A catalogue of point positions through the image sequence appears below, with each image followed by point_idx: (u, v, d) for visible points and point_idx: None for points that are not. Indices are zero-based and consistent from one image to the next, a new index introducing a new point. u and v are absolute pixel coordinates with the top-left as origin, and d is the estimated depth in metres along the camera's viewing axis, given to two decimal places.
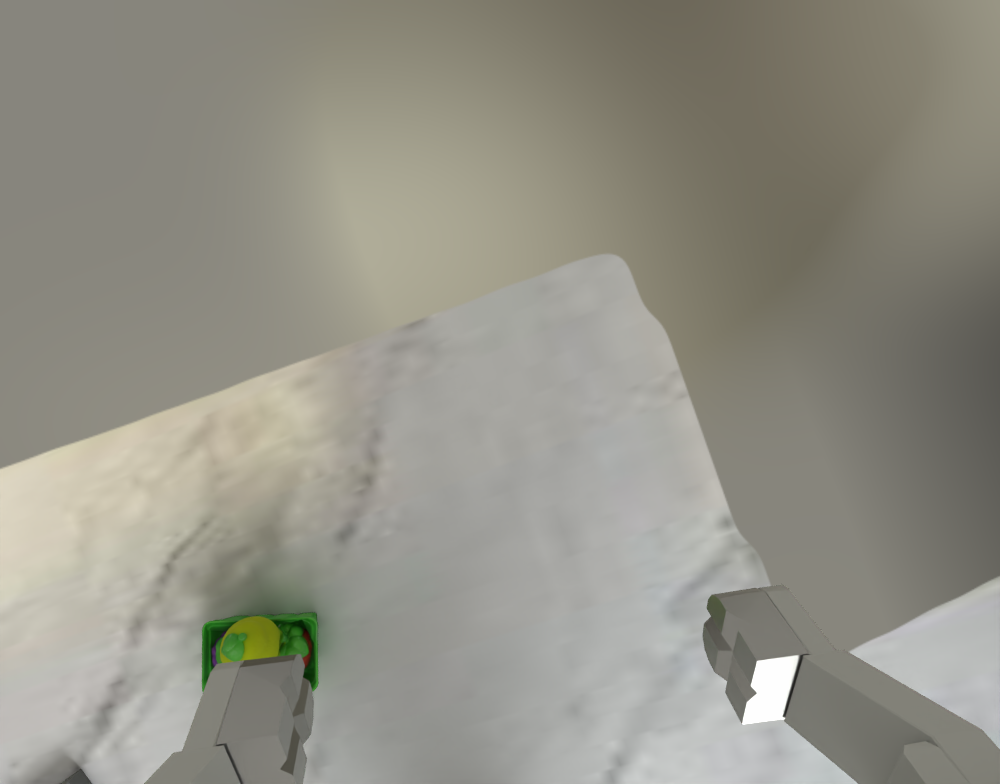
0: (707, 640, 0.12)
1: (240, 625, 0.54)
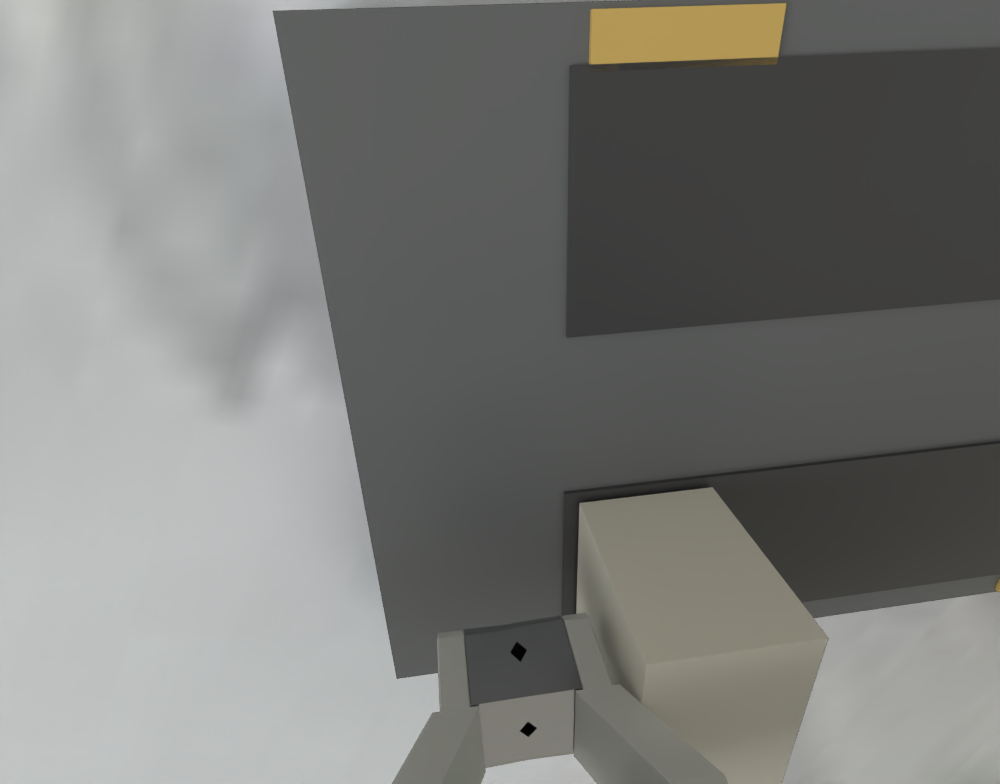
0: None
1: None
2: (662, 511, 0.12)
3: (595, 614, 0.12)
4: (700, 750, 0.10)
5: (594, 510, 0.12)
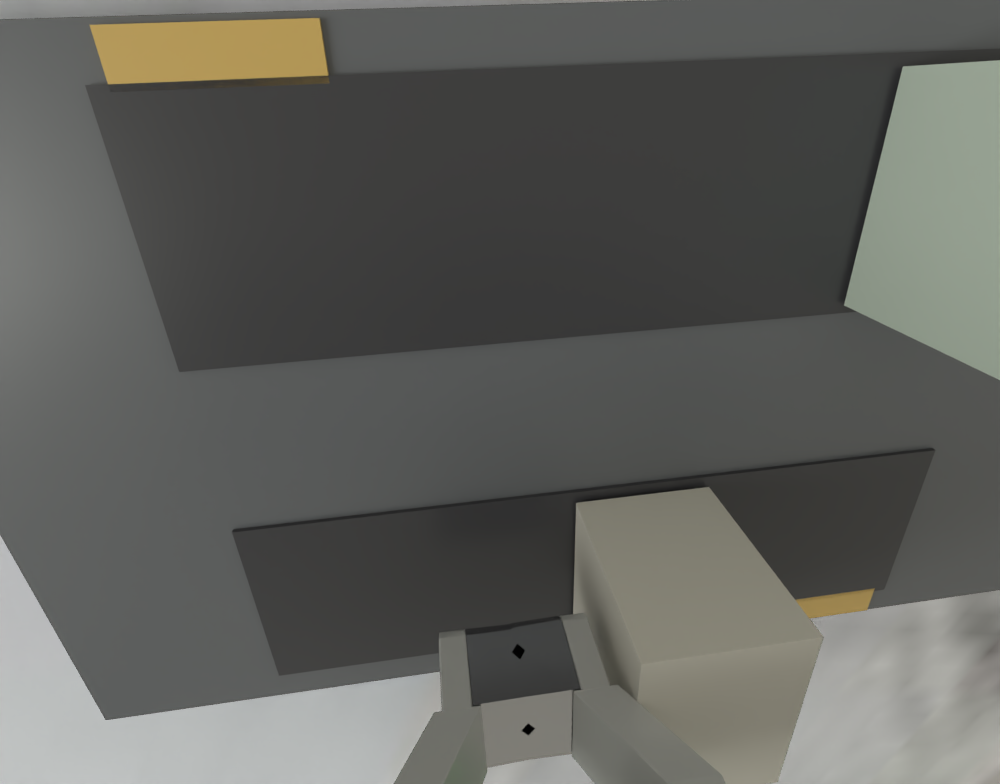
0: None
1: None
2: (658, 511, 0.12)
3: (591, 613, 0.12)
4: (696, 749, 0.10)
5: (591, 510, 0.12)
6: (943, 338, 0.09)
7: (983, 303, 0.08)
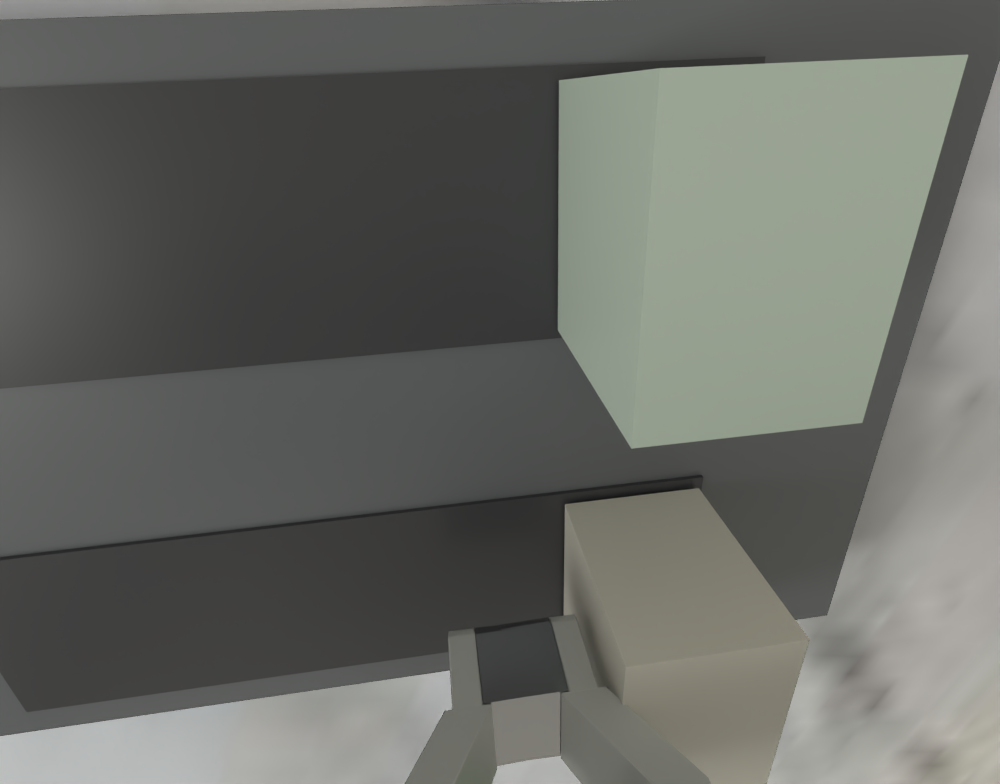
0: None
1: None
2: (647, 512, 0.12)
3: (580, 615, 0.12)
4: (683, 752, 0.10)
5: (579, 511, 0.12)
6: (592, 372, 0.08)
7: (602, 337, 0.08)
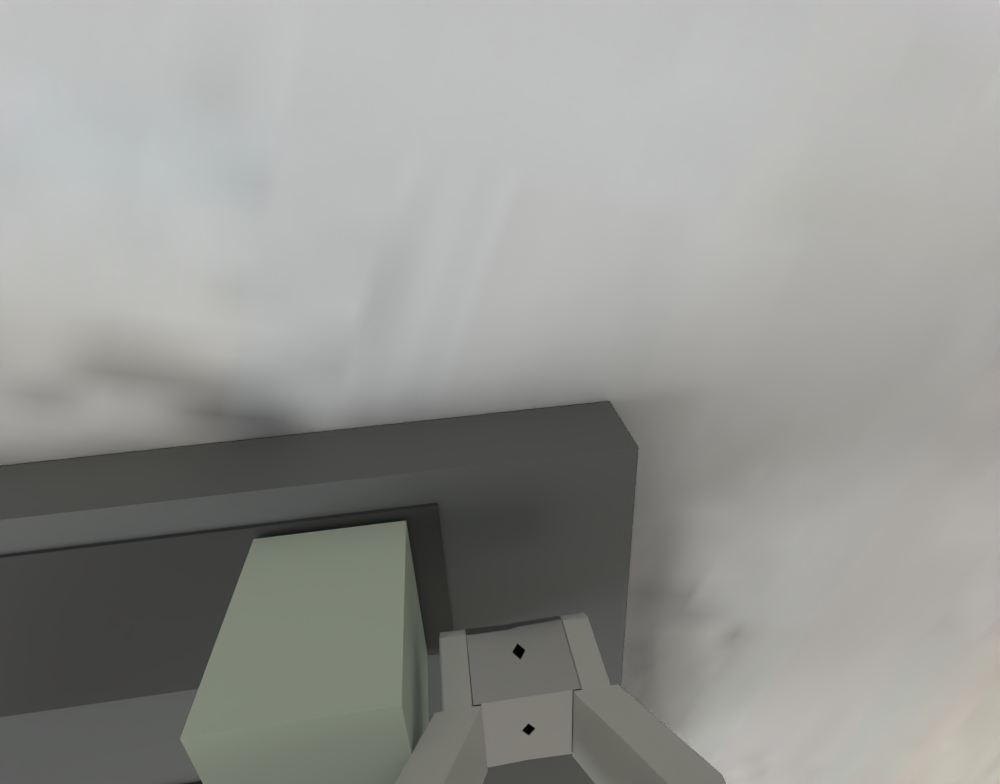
0: None
1: None
2: None
3: None
4: None
5: None
6: None
7: None
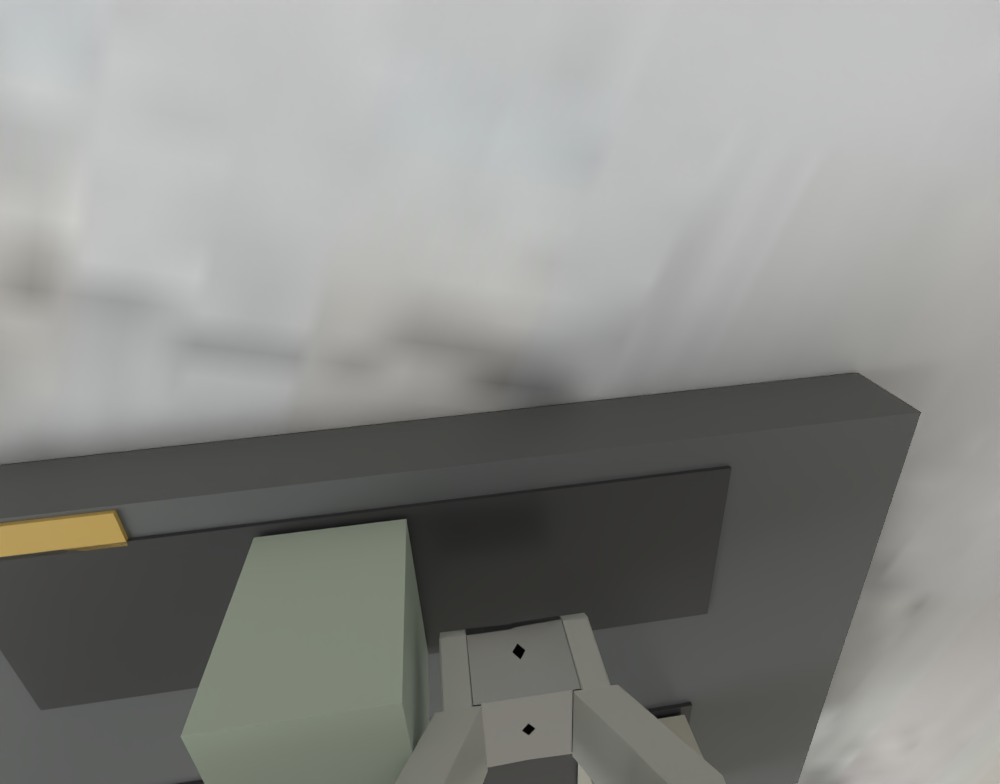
0: None
1: None
2: None
3: None
4: None
5: None
6: None
7: None
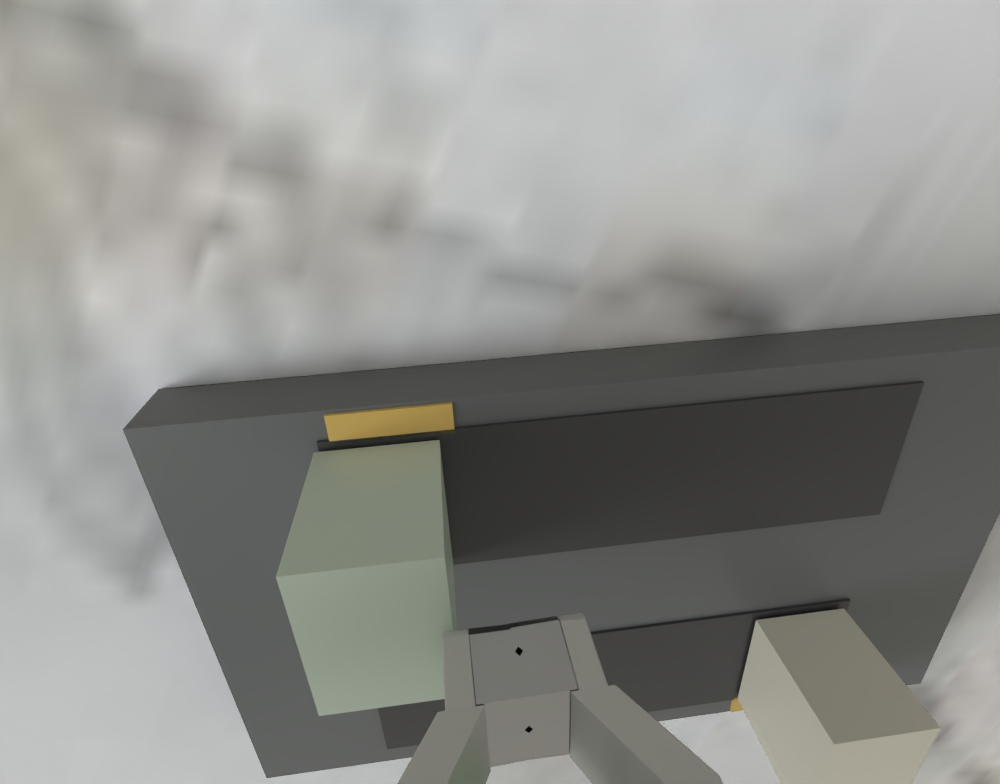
0: None
1: None
2: (814, 628, 0.18)
3: (770, 696, 0.18)
4: None
5: (768, 626, 0.18)
6: None
7: None
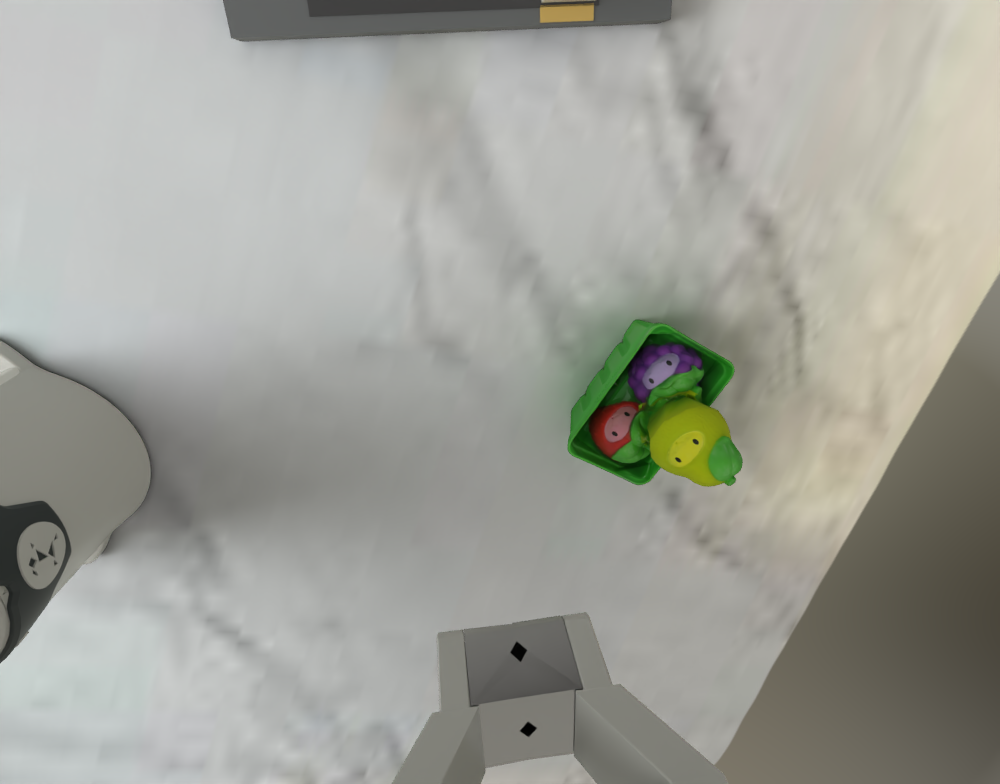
0: None
1: None
2: None
3: None
4: None
5: None
6: None
7: None
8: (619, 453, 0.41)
